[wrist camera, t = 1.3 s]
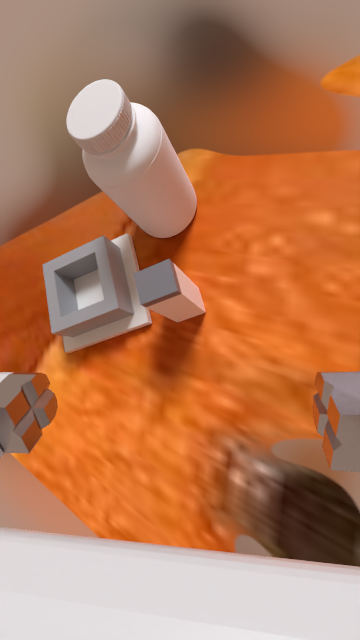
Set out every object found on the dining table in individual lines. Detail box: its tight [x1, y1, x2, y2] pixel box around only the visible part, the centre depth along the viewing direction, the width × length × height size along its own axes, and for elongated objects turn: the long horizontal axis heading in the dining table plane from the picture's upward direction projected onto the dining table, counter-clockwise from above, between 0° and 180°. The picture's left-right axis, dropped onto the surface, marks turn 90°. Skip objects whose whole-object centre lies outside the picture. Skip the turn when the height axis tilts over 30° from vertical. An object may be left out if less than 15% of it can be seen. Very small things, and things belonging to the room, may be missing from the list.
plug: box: [134, 259, 206, 323], centre depth 28 cm, size 4×3×9 cm
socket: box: [43, 233, 152, 353], centre depth 35 cm, size 12×12×4 cm
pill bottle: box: [67, 79, 197, 238], centre depth 29 cm, size 8×8×15 cm
